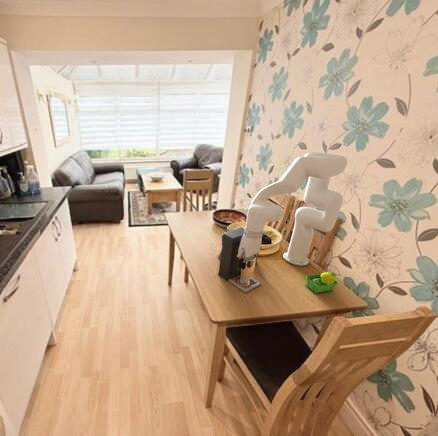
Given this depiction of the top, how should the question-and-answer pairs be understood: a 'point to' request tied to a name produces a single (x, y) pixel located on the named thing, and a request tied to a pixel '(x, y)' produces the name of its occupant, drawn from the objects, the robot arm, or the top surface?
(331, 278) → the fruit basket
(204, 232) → the top surface
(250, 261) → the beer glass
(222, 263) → the coffee maker
